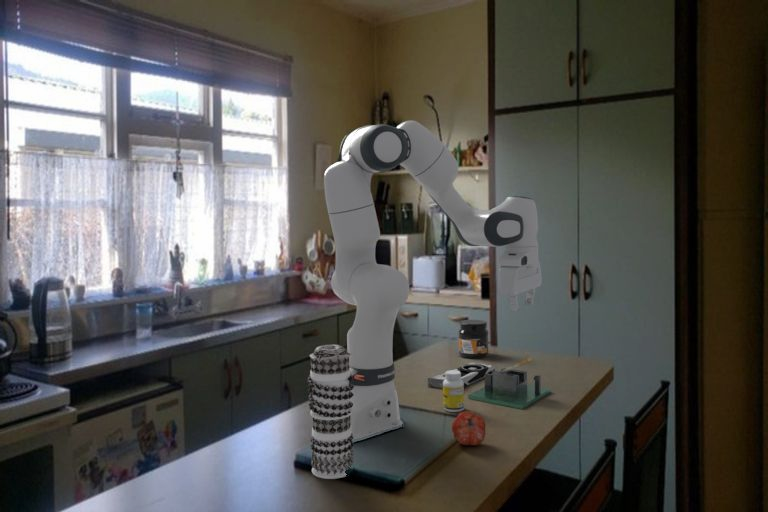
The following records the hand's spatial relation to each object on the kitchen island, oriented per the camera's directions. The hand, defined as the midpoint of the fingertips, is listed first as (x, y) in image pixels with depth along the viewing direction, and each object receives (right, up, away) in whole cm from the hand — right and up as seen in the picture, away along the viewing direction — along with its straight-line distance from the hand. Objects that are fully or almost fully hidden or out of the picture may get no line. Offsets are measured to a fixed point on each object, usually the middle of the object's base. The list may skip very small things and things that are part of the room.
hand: (522, 307), depth 168 cm
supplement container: (-6, -21, +51) cm, 55 cm away
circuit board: (-3, -25, +4) cm, 25 cm away
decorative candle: (-48, -29, -43) cm, 71 cm away
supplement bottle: (-19, -26, -7) cm, 33 cm away
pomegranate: (-19, -28, -30) cm, 45 cm away
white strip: (-3, -18, +3) cm, 18 cm away
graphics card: (-13, -24, +20) cm, 34 cm away
